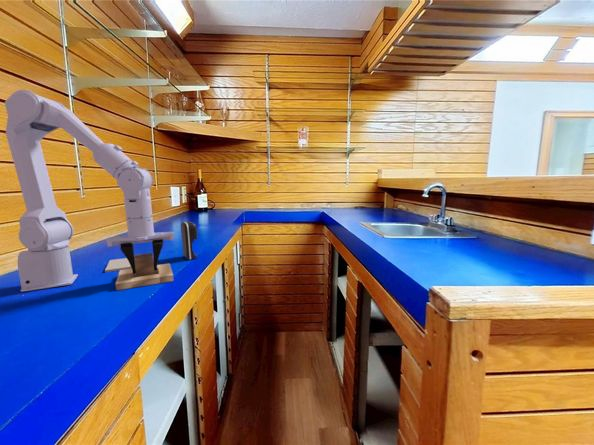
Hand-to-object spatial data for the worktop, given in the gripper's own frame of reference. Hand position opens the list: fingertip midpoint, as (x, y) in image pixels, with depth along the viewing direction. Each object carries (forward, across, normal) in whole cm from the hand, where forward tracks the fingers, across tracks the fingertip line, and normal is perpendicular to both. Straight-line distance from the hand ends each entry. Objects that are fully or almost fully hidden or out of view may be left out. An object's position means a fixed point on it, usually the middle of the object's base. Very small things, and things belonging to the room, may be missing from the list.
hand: (145, 271), depth 74 cm
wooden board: (+2, 0, 0) cm, 2 cm away
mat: (+2, -4, +18) cm, 19 cm away
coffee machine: (+2, +13, +16) cm, 21 cm away
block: (+2, 0, 0) cm, 2 cm away
